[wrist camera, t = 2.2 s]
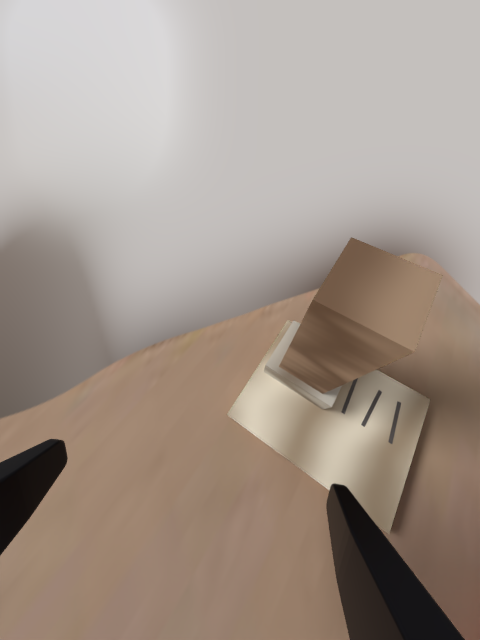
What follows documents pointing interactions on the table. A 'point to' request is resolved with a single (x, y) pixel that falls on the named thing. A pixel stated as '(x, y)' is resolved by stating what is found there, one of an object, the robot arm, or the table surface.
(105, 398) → the table surface
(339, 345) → the block
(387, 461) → the board
